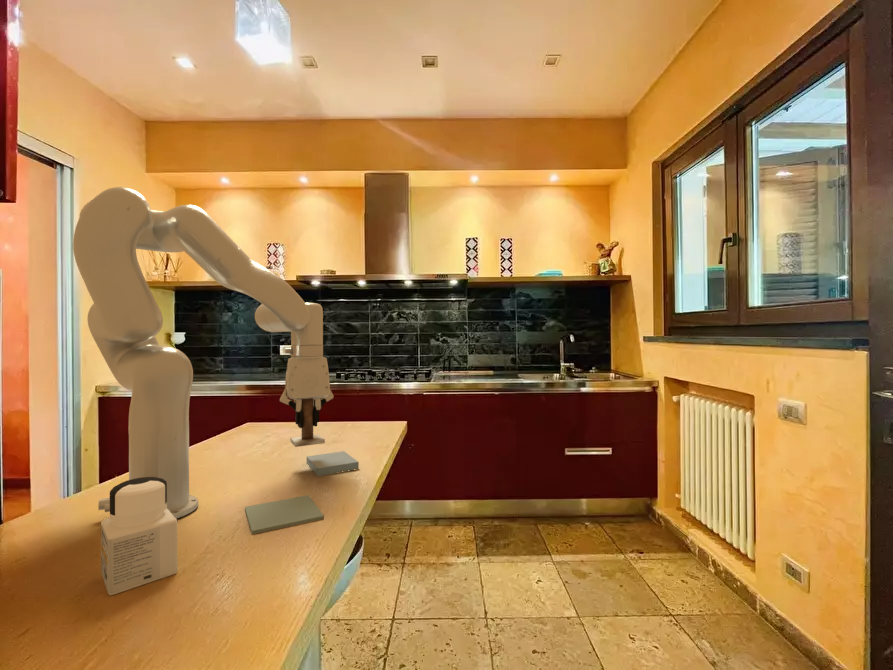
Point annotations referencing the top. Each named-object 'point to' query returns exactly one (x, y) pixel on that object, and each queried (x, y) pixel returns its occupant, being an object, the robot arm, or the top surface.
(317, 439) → the brown upright post
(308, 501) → the mat
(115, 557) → the container
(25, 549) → the top surface
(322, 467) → the tile
